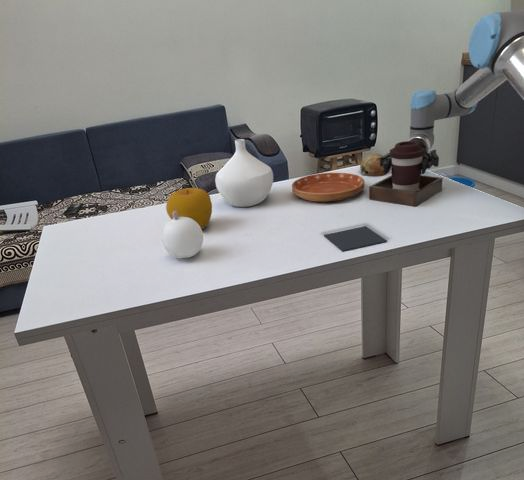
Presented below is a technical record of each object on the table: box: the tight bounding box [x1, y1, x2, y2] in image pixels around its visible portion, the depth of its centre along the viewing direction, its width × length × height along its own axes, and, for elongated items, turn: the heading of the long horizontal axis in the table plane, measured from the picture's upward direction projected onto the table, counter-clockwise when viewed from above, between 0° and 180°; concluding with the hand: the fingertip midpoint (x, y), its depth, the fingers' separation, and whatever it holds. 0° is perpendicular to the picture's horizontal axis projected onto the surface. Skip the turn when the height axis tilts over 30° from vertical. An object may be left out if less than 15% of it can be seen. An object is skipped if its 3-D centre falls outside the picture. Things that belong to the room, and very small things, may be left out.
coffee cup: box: [389, 140, 425, 192], centre depth 159 cm, size 10×10×15 cm
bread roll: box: [359, 153, 386, 177], centre depth 185 cm, size 10×10×8 cm
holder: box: [368, 174, 444, 208], centre depth 162 cm, size 16×16×4 cm
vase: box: [214, 138, 274, 208], centre depth 168 cm, size 18×18×19 cm
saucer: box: [291, 172, 366, 203], centre depth 171 cm, size 23×23×4 cm
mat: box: [323, 225, 388, 253], centre depth 138 cm, size 12×12×1 cm
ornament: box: [161, 211, 204, 259], centre depth 136 cm, size 10×10×12 cm
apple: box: [165, 187, 213, 230], centre depth 154 cm, size 13×13×11 cm
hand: (404, 169), depth 154 cm, fingers closed on coffee cup, 10 cm apart
